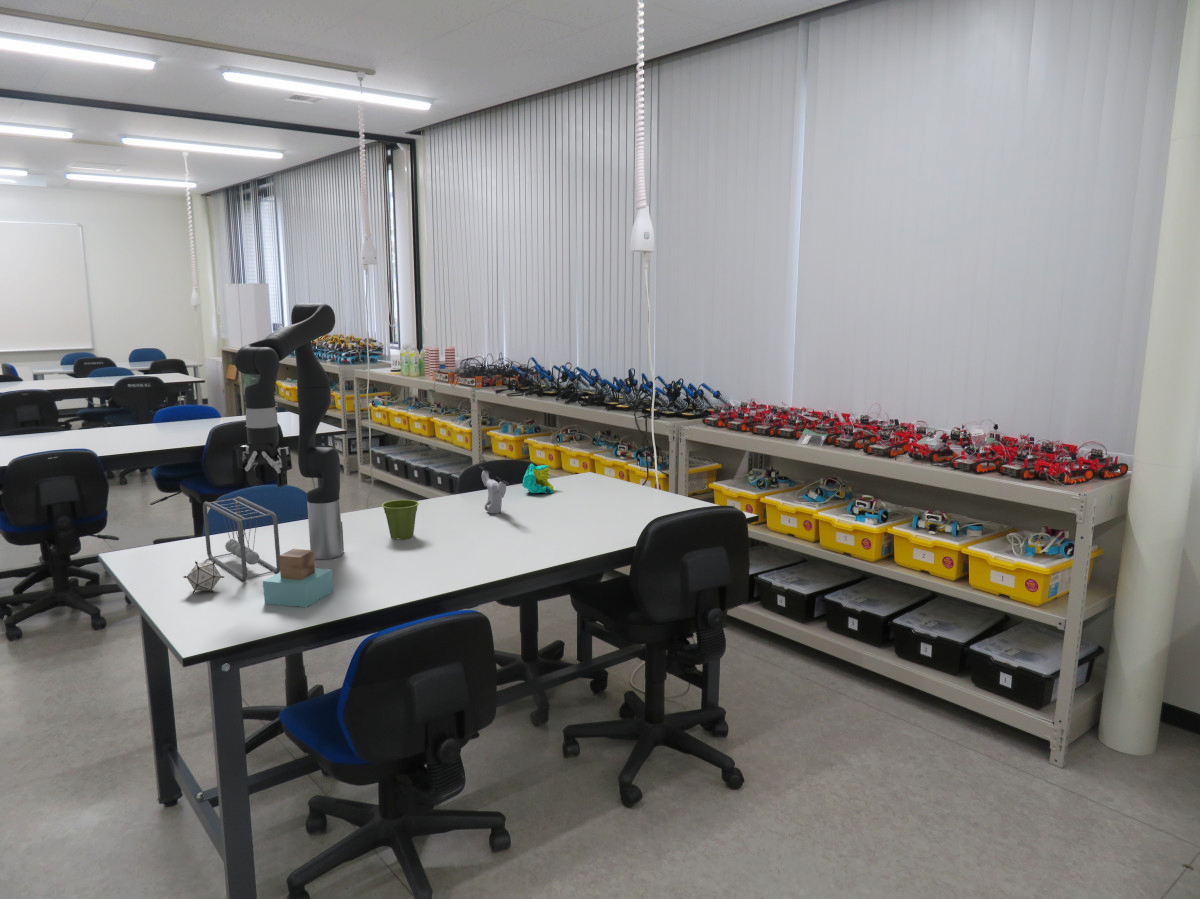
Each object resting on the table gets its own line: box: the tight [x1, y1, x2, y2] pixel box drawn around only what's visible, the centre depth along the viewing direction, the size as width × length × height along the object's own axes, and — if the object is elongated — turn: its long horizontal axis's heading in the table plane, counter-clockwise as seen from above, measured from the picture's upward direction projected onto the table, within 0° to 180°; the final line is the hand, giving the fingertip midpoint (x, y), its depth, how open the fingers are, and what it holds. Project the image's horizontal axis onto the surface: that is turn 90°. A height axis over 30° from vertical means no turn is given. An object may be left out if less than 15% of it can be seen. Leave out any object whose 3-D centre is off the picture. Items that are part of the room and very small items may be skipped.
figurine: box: [478, 465, 510, 515], centre depth 289 cm, size 35×6×15 cm, turn 25°
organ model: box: [522, 463, 555, 494], centre depth 321 cm, size 15×12×13 cm
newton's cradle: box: [202, 496, 281, 582], centre depth 230 cm, size 30×10×18 cm, turn 44°
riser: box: [262, 567, 334, 608], centre depth 206 cm, size 12×12×6 cm
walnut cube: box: [279, 548, 316, 580], centre depth 205 cm, size 6×6×6 cm
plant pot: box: [381, 499, 420, 541], centre depth 259 cm, size 12×12×11 cm
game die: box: [183, 560, 225, 594], centre depth 210 cm, size 9×8×10 cm
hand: (266, 485), depth 209 cm, fingers open, 8 cm apart
